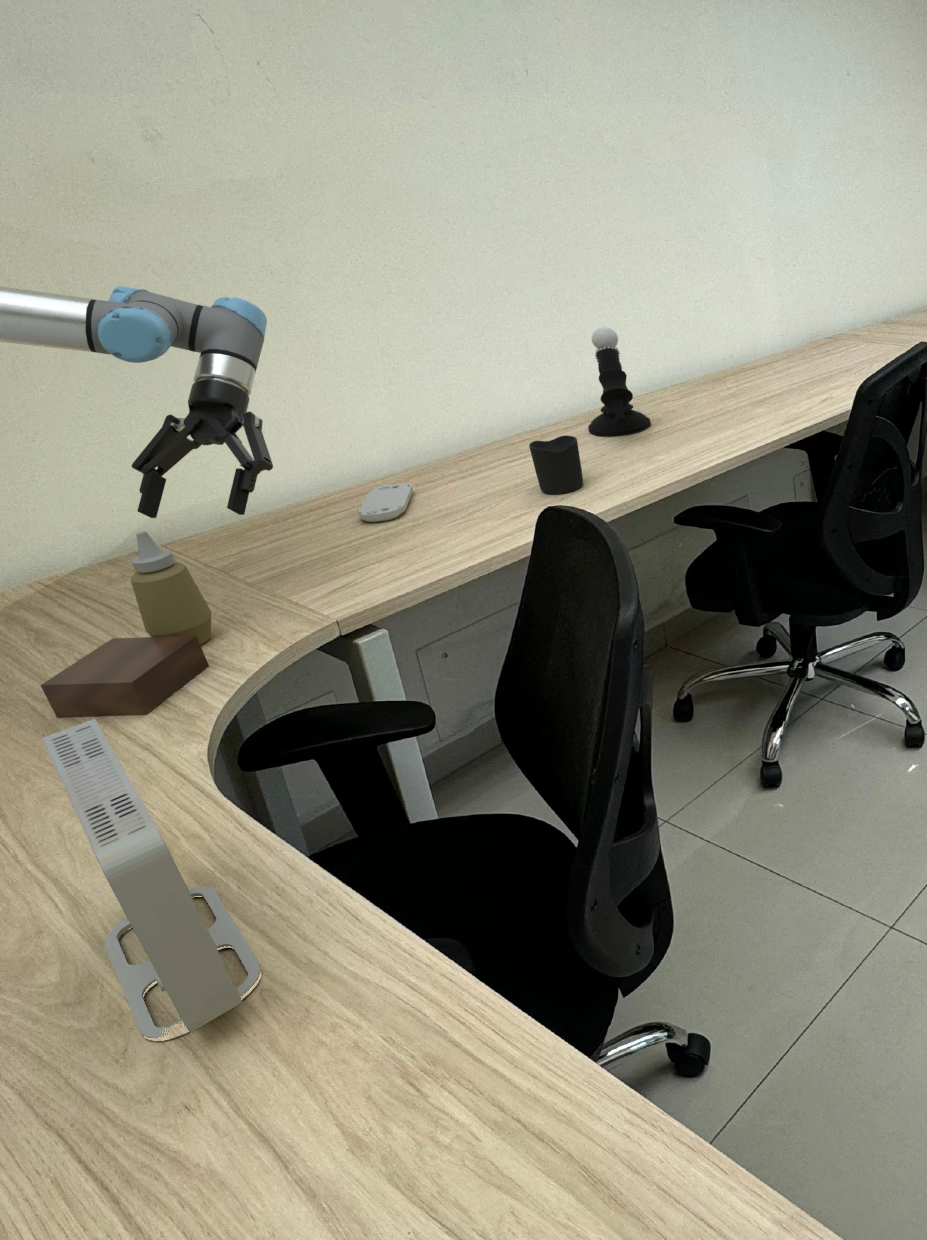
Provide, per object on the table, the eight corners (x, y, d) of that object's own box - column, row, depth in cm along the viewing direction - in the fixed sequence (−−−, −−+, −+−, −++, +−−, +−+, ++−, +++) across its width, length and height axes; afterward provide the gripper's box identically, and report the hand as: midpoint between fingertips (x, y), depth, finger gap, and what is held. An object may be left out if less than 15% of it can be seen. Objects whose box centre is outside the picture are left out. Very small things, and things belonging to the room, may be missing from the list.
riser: (56, 717, 119) (40, 685, 117) (126, 668, 130) (112, 638, 128) (146, 714, 119) (131, 682, 117) (209, 665, 130) (196, 635, 128)
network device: (284, 1006, 77) (199, 822, 69) (160, 1080, 71) (51, 889, 63) (200, 866, 93) (122, 702, 84) (93, 917, 87) (-2, 747, 78)
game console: (401, 508, 177) (354, 514, 175) (404, 519, 178) (358, 526, 176) (413, 479, 193) (370, 484, 191) (416, 489, 194) (373, 495, 192)
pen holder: (572, 496, 187) (563, 449, 182) (530, 495, 188) (520, 449, 184) (593, 480, 195) (584, 435, 191) (552, 479, 197) (543, 435, 192)
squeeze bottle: (226, 625, 141) (183, 517, 133) (212, 649, 134) (166, 537, 126) (165, 636, 138) (117, 527, 131) (147, 661, 131) (96, 548, 124)
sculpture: (647, 416, 239) (632, 319, 228) (658, 441, 219) (642, 336, 208) (587, 423, 235) (569, 325, 224) (592, 450, 214) (573, 343, 204)
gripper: (314, 398, 148) (288, 519, 141) (162, 404, 148) (130, 525, 141) (284, 374, 141) (255, 499, 134) (125, 380, 141) (88, 506, 134)
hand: (191, 513), depth 137 cm, fingers open, 13 cm apart
